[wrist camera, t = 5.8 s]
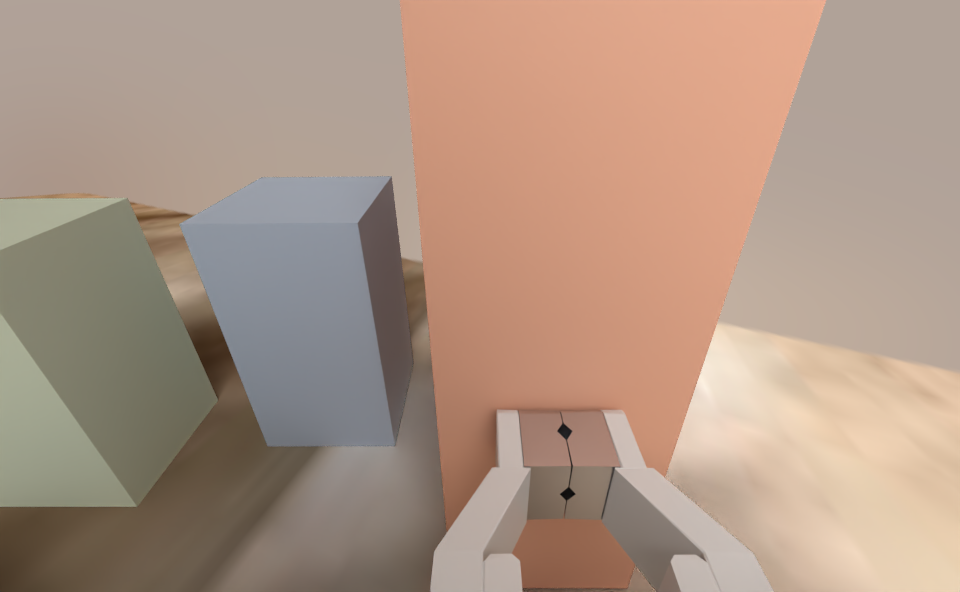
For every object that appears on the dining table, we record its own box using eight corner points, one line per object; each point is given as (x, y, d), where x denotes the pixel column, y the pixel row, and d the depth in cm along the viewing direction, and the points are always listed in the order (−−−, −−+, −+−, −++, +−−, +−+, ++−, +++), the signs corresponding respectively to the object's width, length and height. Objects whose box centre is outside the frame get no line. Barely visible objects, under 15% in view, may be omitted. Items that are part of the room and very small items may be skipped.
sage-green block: (-8, 506, 17) (-250, 265, 11) (106, 400, 22) (-21, 199, 17) (137, 506, 17) (-34, 264, 11) (218, 400, 22) (127, 198, 17)
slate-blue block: (267, 446, 19) (179, 224, 14) (312, 363, 25) (261, 177, 19) (395, 446, 19) (357, 222, 14) (413, 363, 25) (391, 176, 19)
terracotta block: (451, 588, 14) (387, -152, 5) (467, 323, 28) (457, -3, 19) (627, 588, 14) (881, -163, 5) (556, 323, 28) (589, -5, 19)
